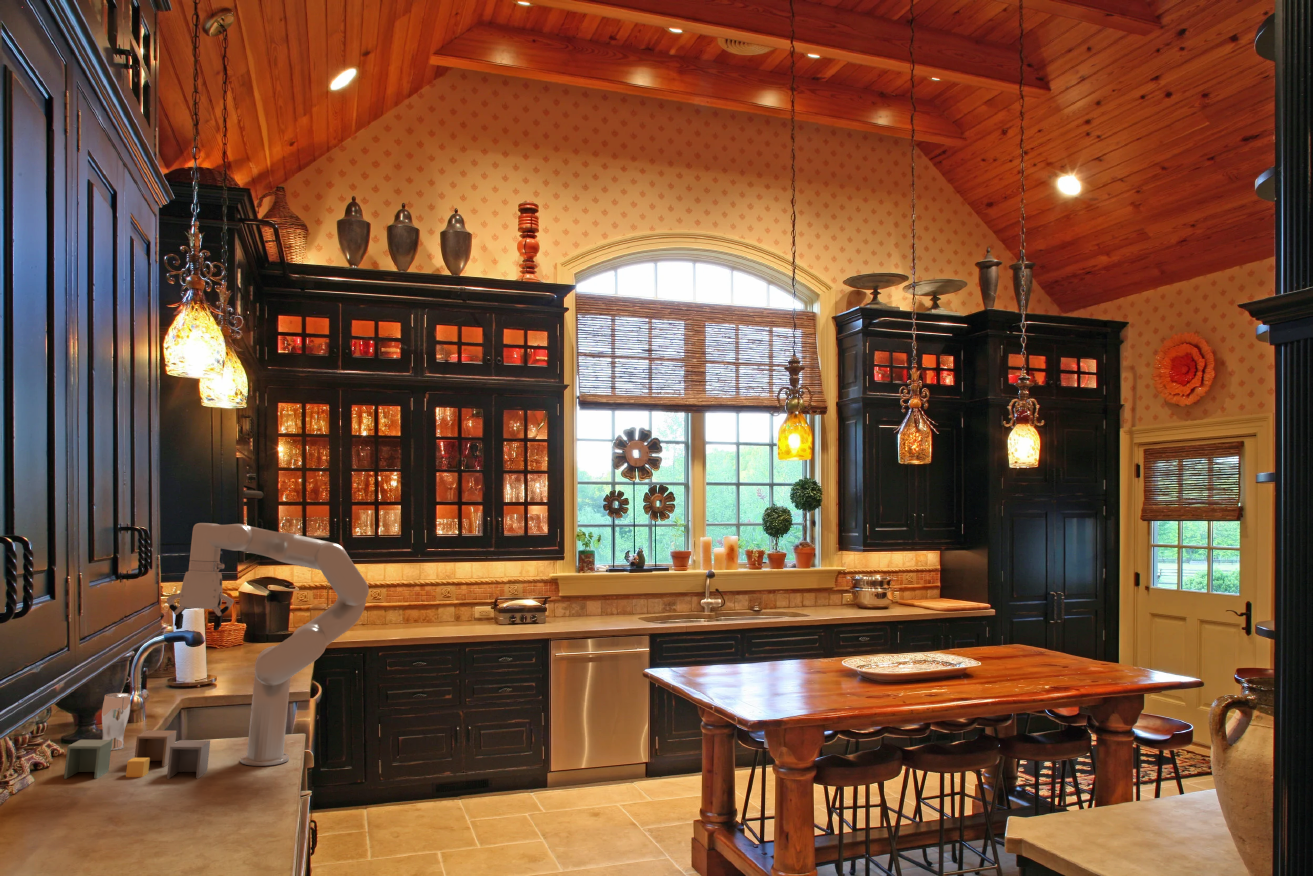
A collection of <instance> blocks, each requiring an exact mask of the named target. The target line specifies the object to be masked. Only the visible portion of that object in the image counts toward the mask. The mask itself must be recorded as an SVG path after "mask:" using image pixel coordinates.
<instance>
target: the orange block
mask: <svg viewBox="0 0 1313 876" xmlns="http://www.w3.org/2000/svg"><path fill="white" fill-rule="evenodd" d="M150 762H151V761H150V758H135V757H131V758H130V759H129V760H127V762H126V763H127V764H126V770H125V771H126V773H125V777H126V778H143V777H145V776H146V775H148V774H149V772H150V769H149V768H150Z"/></svg>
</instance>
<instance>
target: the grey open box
mask: <svg viewBox="0 0 1313 876" xmlns="http://www.w3.org/2000/svg"><path fill="white" fill-rule="evenodd" d="M210 745H211V740H210V739H209V740H207V739H205V740H204V739H203V740H200V739H198V740H197V739H196V740H194V739H193V740H191V739H185V740H184V739H183V740H182V739H180V740H178V741H175V744H173V745H172V746H170V753H169V762H168V765H167V774H166V779H167V780H170V779H171V778H172V777H174V776H175V775H176V774H177V773H182V772H183V773H196V775H195V776H196V777H195V779H196V778H197V780H199V779H200V778H201V777H202V776H204V775H205V774H206V773H207V772H208V765H209V756H210V748H211V747H210Z"/></svg>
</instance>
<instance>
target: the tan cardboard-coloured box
mask: <svg viewBox="0 0 1313 876" xmlns="http://www.w3.org/2000/svg"><path fill="white" fill-rule="evenodd" d="M176 739H177V730H158V729H157V730H152V729H150V730H149V729H148V730H147V729H146V730H145V731H144V732H141V733H140V734H138V735H136V740H135V741H136V742H135V752H134V758H150V761H149V762H151V761H152V762H153V761H154V762H155V761H157V762H158V761H159V762H161V768H164V767H166V766H168V762H169V753H170V746H172V745H173V744H175V743H176V742H177V741H176Z"/></svg>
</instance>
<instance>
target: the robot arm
mask: <svg viewBox="0 0 1313 876" xmlns="http://www.w3.org/2000/svg"><path fill="white" fill-rule="evenodd" d="M221 549H223V550H228V551H235V552H236V551H241V552H245V553H249V554H253V555H254V554H256V555H259V556H264V557H268V558H270V559H273V560H275V561H278V562H281V563H285V564H289V565H294V566H299V567H304V568H309V569H313V570H318V571H321V573H322V575H323V576H324V577H325V580H326V581H327V582H328V583H329V585H330V587H331V588H332V590H333V591H334V592H335V594H336V595H337V598H336V600H335V602H334V603H333V604H332V605H331V606H330V607H329V608H327V609H326V610H325V611H323V612H322V613H320V614H319V615H317V616H316V617H315V618H313V619H311V620H310V621H308V622H307V623H305V624H303V625H301V626H299V627H298V628H296V629H295V630H294V632H293V633H292V635H290V636H289V637H288V638H286V639H284V640H283V641H282V642H280V643H278V644H277V645H272V646H268V647H266V648H265V649H263V650H262V651H260V653H259V654H258V655H257V658H256V660H255V662H254V663H255V664H254V677H253V686H252V687H253V688H252V699H251V708H250V720H249V729H248V741H247V751H246V754H243V755H242V756H241V757H240V763H241V764H243V765H245V766H246V765H247V766H253V767H254V766H255V767H256V766H257V767H265V766H266V767H267V766H276V765H280V764H284V763H286V762H288V761H289V759H290V755H289V754H288V753H285V742H286V730H287V719H288V707H289V706H288V705H289V700H290V698H289V697H290V687H291V686H290V685H291V678H293V676H295V675H296V674H298V673H299V672H301V671H303V670H304V669H305V668H307V667H308V666H309V665H311V664H313V663H314V662H316V660H318V659H319V658H320V657H321V656H322V655H323V654H324V653H325V650H326V648H327V646H329V644H331V643H333V642H335V641H336V640H337V639H339V637H340V636H342V635H344V634H345V633H346V632H347V631H349V630H350V629H351V628H352V627H354V626H355V625H356V624H357V622H358V621H359V620H360V618H361V617H362V615H363V612H364V610H365V608H366V602H367V598H368V596H369V585H368V583H367V581H366V580H365V578H364V577H363V575H362V574H361V572H360V570H359V569H358V568H357V567H356V565H355V564H354V562H353V560H352V559H351V557H350V556H349V555H348V553H347V551H346V550H345V548H344V547H343V546H341V545H340V544H338V543H335V542H330V541H327V540H321V539H319V538H318V539H317V538H313V537H309V536H304V535H299V534H295V533H289V532H281V531H280V532H279V531H274V530H269V529H264V528H261V527H260V528H259V527H255V526H251V525H247V524H246V525H245V524H243V523H232V524H231V523H230V524H218V523H209V522H198V523H195V524H194V525H193V528H192V535H191V544H190V555H189V564H188V571H185V574H184V576H183V581H182V583H181V584H182V585H181V589H180V592H178V593H176V594H173V595H171V596H169V597H166V603H167V605H168V606H169V609H170V610H171V611H172V612H173V615H174V627H175V629H176V630H180V629H182V628H183V624H184V623H183V622H184V613H183V612H184V611H185V610H186V609H204V610H206V609H209V610H211V609H212V611H213V612H214V613H215V615H214V618H213V628H212V629H213V631H218V630H219V629H220V628H221V627H222V622H223V621H222V620H223V615H224V614H226V612H228V611H230V610H231V607H232V605H233V604H234V602H235V599H233V598H231V597H229V596H228V595H226V594H224V593H223V576H222V575H223V574H222V572H219V571H220V570H222V569H225V563H221V561H220V558H221ZM177 599H179V601H178V602H179V606H177V605H176V603H175V600H177ZM222 601H223V602H226V604H225V605H224V606H223V608H222V607H221V606H222Z"/></svg>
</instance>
